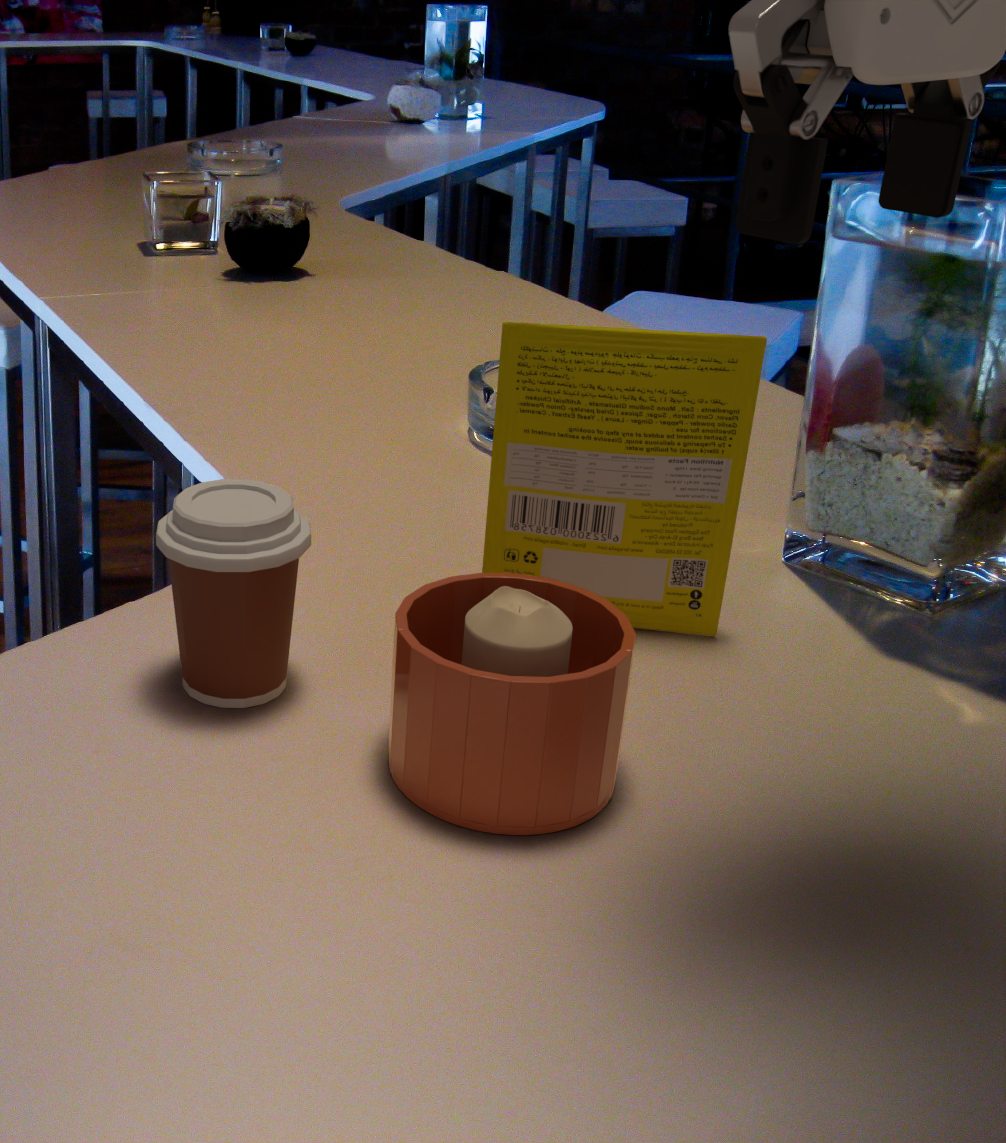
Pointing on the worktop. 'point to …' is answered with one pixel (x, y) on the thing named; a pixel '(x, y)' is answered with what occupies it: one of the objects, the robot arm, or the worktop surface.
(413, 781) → the pot cup
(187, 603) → the coffee cup
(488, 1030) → the worktop surface
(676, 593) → the food package
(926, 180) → the robot arm
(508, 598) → the candle
